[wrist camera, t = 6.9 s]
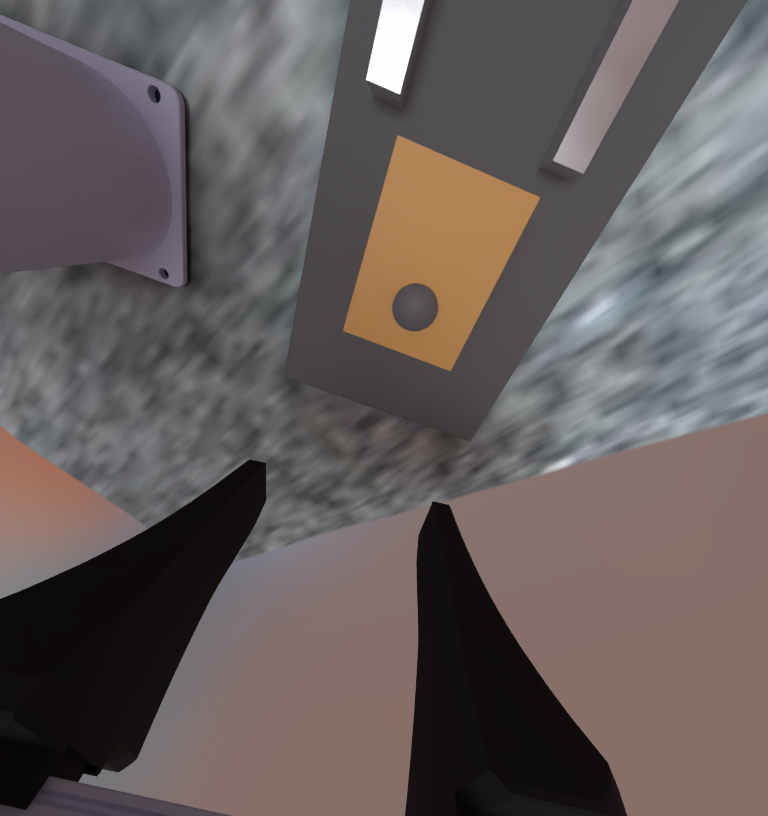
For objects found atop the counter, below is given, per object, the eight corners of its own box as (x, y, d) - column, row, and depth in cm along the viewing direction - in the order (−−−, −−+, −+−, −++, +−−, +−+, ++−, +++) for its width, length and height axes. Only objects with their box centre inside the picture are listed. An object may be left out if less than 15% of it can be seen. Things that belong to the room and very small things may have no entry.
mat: (288, 372, 19) (284, 376, 18) (563, -1137, 5) (580, -1305, 4) (468, 435, 19) (470, 441, 19) (1152, -671, 6) (1226, -761, 5)
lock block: (362, 305, 15) (341, 333, 11) (405, 162, 12) (397, 131, 8) (443, 336, 16) (451, 374, 12) (505, 206, 13) (543, 196, 9)
